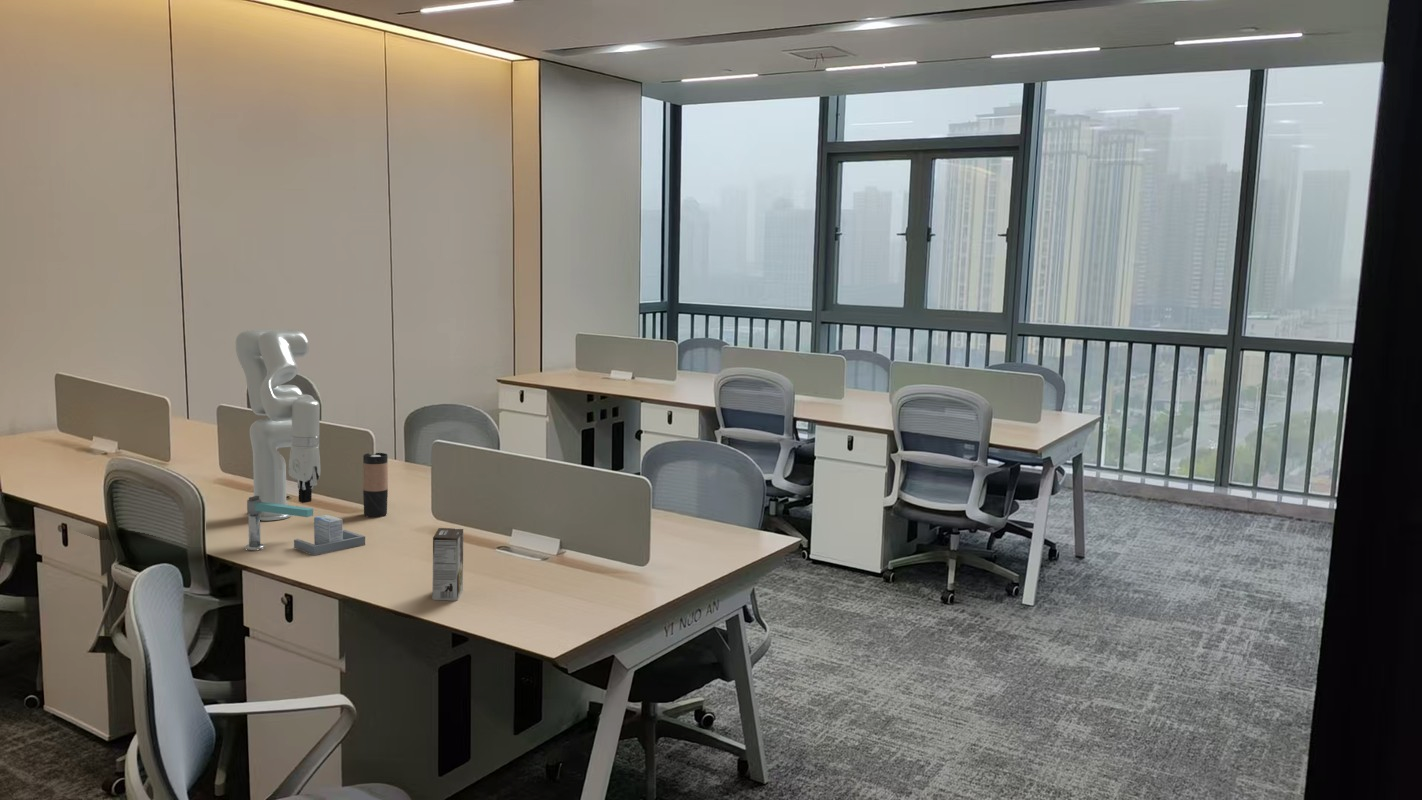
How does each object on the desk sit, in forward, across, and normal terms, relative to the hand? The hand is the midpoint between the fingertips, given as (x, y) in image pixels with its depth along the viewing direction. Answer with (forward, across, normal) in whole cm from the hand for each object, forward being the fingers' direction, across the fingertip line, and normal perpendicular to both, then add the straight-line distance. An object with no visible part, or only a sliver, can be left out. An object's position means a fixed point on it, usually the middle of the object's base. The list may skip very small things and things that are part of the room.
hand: (305, 501), depth 302 cm
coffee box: (+8, +72, -4) cm, 73 cm away
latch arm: (0, +9, -13) cm, 16 cm away
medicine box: (+10, +14, -1) cm, 18 cm away
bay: (+10, +14, 0) cm, 17 cm away
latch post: (+11, +2, -16) cm, 20 cm away
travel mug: (+12, -9, +31) cm, 34 cm away
